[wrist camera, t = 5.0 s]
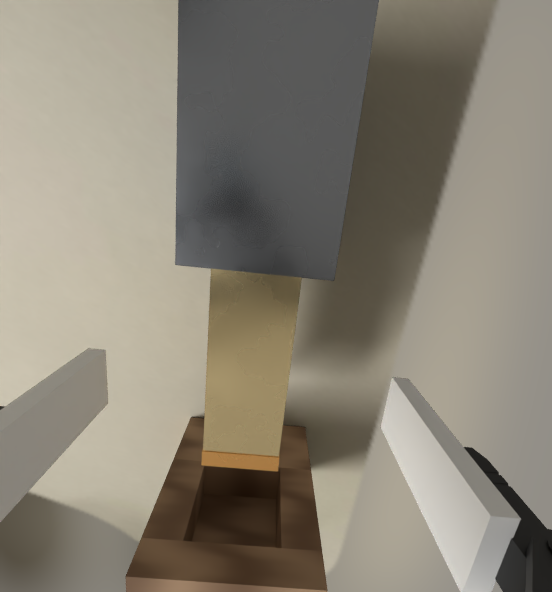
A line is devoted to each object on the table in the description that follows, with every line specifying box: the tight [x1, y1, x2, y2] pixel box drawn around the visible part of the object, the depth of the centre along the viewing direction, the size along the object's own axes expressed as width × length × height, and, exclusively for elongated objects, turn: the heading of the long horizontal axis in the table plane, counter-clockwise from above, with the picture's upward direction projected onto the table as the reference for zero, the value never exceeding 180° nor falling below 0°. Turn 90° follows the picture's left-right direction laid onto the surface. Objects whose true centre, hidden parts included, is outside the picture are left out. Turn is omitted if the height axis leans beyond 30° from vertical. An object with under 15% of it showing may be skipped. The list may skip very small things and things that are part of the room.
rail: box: [201, 269, 302, 472], centre depth 17 cm, size 4×22×4 cm, turn 174°
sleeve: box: [175, 0, 379, 281], centre depth 17 cm, size 10×12×12 cm
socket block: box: [126, 417, 327, 592], centre depth 23 cm, size 11×5×13 cm, turn 84°
